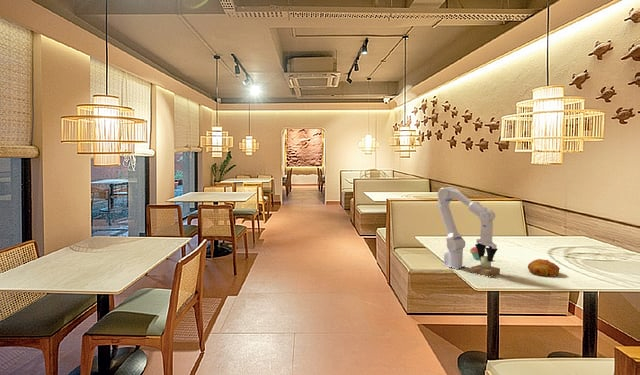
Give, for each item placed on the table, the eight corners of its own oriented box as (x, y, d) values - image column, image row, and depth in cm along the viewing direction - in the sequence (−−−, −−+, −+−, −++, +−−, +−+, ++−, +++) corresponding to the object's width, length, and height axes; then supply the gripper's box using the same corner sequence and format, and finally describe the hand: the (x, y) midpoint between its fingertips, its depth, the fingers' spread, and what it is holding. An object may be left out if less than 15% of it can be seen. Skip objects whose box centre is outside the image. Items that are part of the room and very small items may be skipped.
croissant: (523, 277, 217) (523, 262, 216) (534, 267, 228) (534, 253, 227) (554, 282, 207) (553, 267, 206) (564, 272, 218) (563, 257, 216)
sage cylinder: (478, 266, 218) (478, 256, 218) (486, 265, 220) (486, 255, 219) (484, 269, 213) (485, 258, 213) (493, 268, 215) (493, 257, 215)
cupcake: (481, 256, 252) (482, 237, 251) (487, 260, 244) (488, 240, 243) (467, 257, 252) (468, 237, 251) (473, 260, 243) (473, 240, 242)
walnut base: (471, 272, 218) (471, 267, 218) (482, 269, 224) (482, 264, 223) (488, 277, 210) (488, 271, 210) (499, 273, 216) (500, 268, 215)
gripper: (471, 231, 221) (470, 256, 223) (487, 236, 207) (487, 263, 208) (483, 230, 223) (482, 255, 224) (500, 236, 209) (499, 262, 210)
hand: (485, 259), depth 216 cm, fingers open, 7 cm apart
